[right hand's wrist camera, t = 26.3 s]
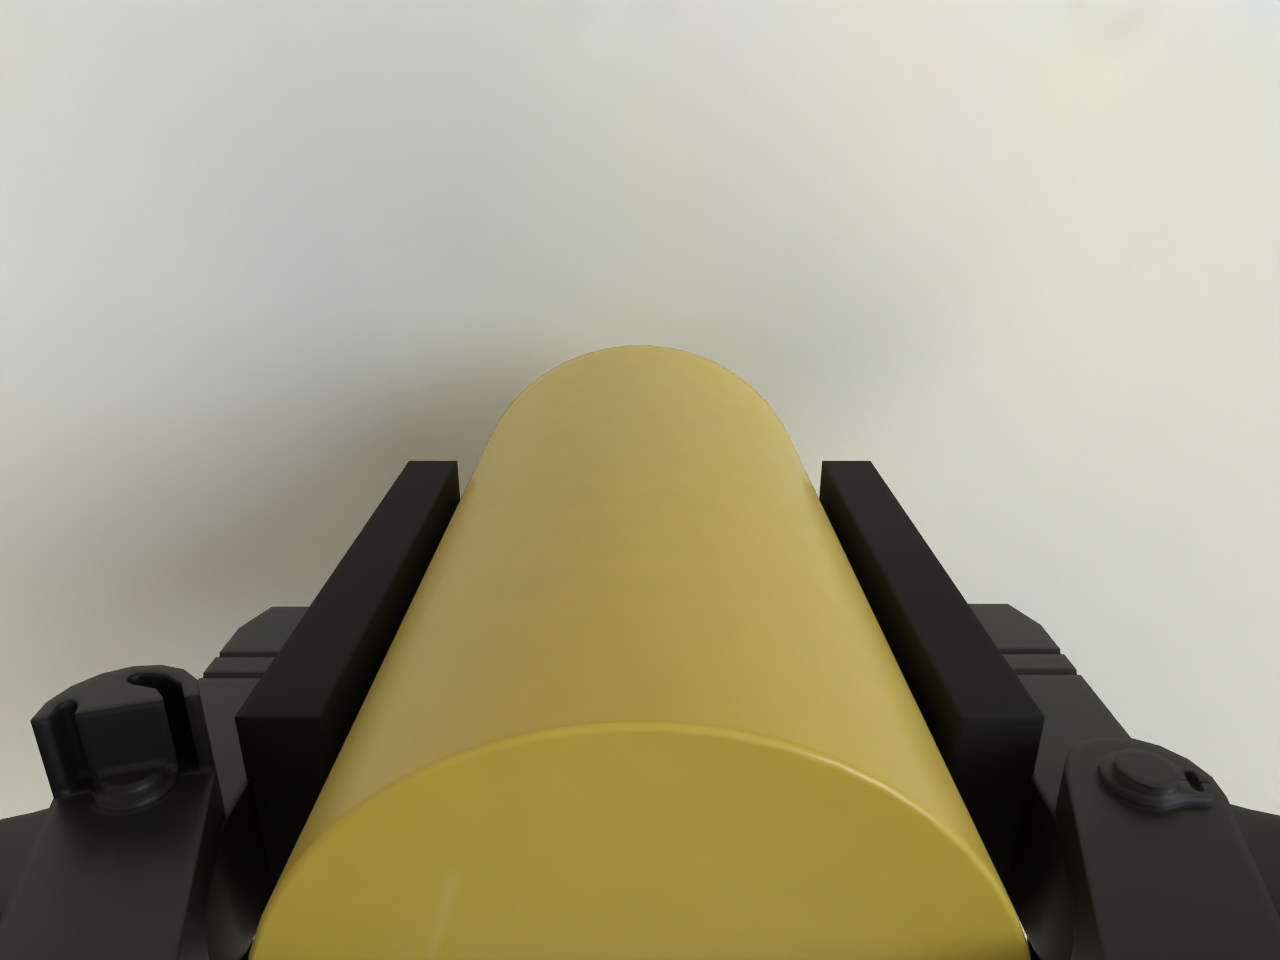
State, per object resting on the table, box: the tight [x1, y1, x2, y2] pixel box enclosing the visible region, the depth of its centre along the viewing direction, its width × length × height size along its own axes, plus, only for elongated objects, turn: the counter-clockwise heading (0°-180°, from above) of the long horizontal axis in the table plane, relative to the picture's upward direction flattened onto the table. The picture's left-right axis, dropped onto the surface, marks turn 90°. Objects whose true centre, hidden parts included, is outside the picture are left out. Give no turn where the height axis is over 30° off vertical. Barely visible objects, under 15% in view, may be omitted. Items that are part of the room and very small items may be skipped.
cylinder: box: [248, 346, 1031, 960], centre depth 11 cm, size 6×6×10 cm
